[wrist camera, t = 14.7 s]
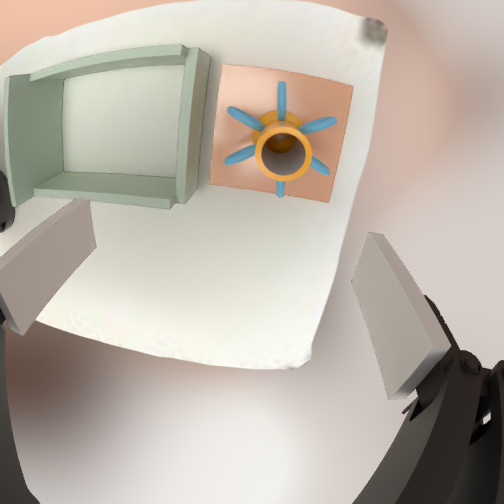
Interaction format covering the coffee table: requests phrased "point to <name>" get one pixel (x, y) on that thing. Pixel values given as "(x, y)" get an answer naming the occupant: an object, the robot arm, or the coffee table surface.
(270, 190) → the terracotta tile
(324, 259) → the coffee table surface
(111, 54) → the box
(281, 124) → the orange tube
